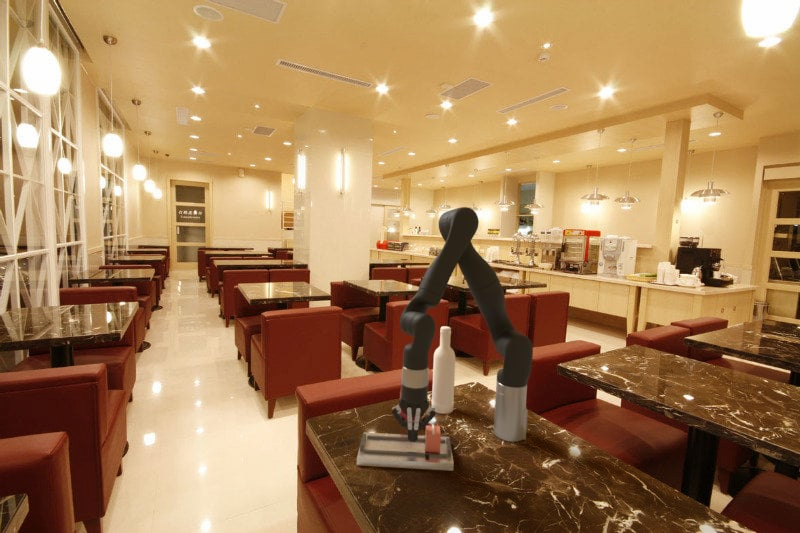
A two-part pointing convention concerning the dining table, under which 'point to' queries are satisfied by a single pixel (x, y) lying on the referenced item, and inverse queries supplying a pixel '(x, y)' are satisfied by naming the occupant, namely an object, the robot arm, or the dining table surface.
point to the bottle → (443, 374)
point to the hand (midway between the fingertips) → (412, 440)
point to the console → (403, 452)
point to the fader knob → (432, 438)
